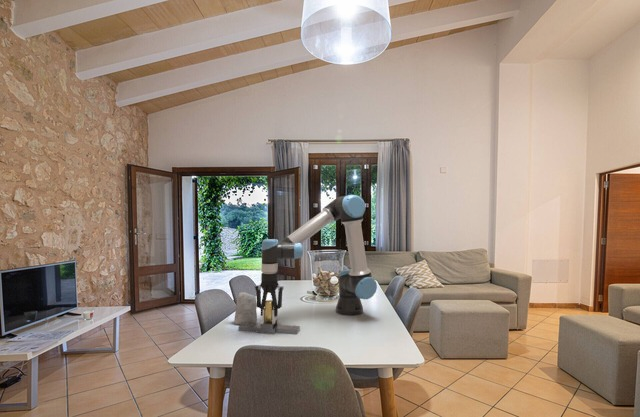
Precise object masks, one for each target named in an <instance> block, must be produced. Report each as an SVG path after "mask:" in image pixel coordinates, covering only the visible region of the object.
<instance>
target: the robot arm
mask: <svg viewBox="0 0 640 417" xmlns="http://www.w3.org/2000/svg"><path fill="white" fill-rule="evenodd" d="M365 212H366V203H365V201H364V199H363V197H360V196H359V195H356V194H348V195H343V196H338V197H336V198H335V199H333V200H332V201H330V202H329V203H328V204H327V205H326V206H324V207H323V208H322V211H320V212H319V213H318V214H316V215H315V216H313V217H312V218H310V219H309V220H308V221H307V222H305V223H304V224H303V225H301V226H300V227H298V228H297V229H296V230H294V231H293V232H292V233H290V234H289V235H288V236H287V237H285V238H283V239H282V240H278V238H277V239H275V238H272V239H270V238H267V239H266V238H265V239H263V240H262V243H261V268H260V269H261V271H260V272H261V276H260V277H261V279H260V280H261V283H260V284H259V285H256V286H255V287H254V289H255V292H256V296H255V297H256V304H257V308H259V309H260V316H261V317H262V323H265V301H267V297H268V294H269V293H270V296H271V300H272V301H273V307H274V309H273V310H272V324H275V323H276V319H277V318H276V317H278V313H279V309H280V308H282V307H283V291H284V289H285V288H284V286H283V285H280V284H279V282H278V276H279V275H278V269H279V268H278V265H279V264H278V263H279V261H278V260H290V259H291V260H293V259H294V260H298V259H301V258H302V257H303V253H304V248H303V245H302V244H304V243H305V242H307V240H308V239H310V238H312V237H313V236H314V235H316V234H317V233H318V232H319V231H320V230H323V228H325V227H326V226H328V224H330V223H335V222H336V221H337V220H339V219H340V223H341V224H343V226H344V230H345V236H346V238H345V239H346V244H347V250H348V251H347V252H348V258H349V264H350V269H345V270H340V271H339V272H338V293H339V294H338V298H337V299H338V300H337V304H336V306H335V311H336V313H338V314H340V315H345V316H355V315H361V314H363V313H364V307H363V303H362V300H369V299H371V298H373V297H374V295H375V294H376V293H377V289H378V284H377V281H376V280H375V279H374V278H373V277H372V271H371V269H370V268H368V263H367V257H366V250H365V249H366V248H365V243H364V236H363V229H362V222H363V220H364V217H363V216H364V214H365ZM276 290H277V291H278V292H277V291H276ZM276 292H277V293H278V295H277V294H276Z"/></svg>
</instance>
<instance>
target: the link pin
mask: <svg viewBox="0 0 640 417" xmlns="http://www.w3.org/2000/svg"><path fill="white" fill-rule="evenodd" d="M264 308H265V324H272V310H273V309H274V307H273V301H272V299H268V300H267V299H266V301H265V307H264Z"/></svg>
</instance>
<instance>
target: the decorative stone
mask: <svg viewBox="0 0 640 417" xmlns="http://www.w3.org/2000/svg"><path fill="white" fill-rule="evenodd" d="M257 308H258V307H257V297H256V296H255V295H253V294H251V293H248V292H245V291H244V292H242V291H241V292H239V294H238V295H237V298H236V306H235V311H234V312H235V313H234V321H233V322H234V325H241V324H242V323H255V324H257V320H258V315H257V314H258V313H257Z"/></svg>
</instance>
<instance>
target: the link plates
mask: <svg viewBox="0 0 640 417" xmlns="http://www.w3.org/2000/svg"><path fill="white" fill-rule="evenodd" d="M278 322H279V319H277V318H276V323H275V324H265V323H263V322H261V323H242V324H239V325H238V331H243V332H253V333H254V332H255V333H256V332H257V334H268V335H269V334H270V335H271V334H272V335H275V334H286V335H287V334H289V335H298V334H299V332H301V326H300V325H290V324H289V325H287V324H281V323H278Z"/></svg>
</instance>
